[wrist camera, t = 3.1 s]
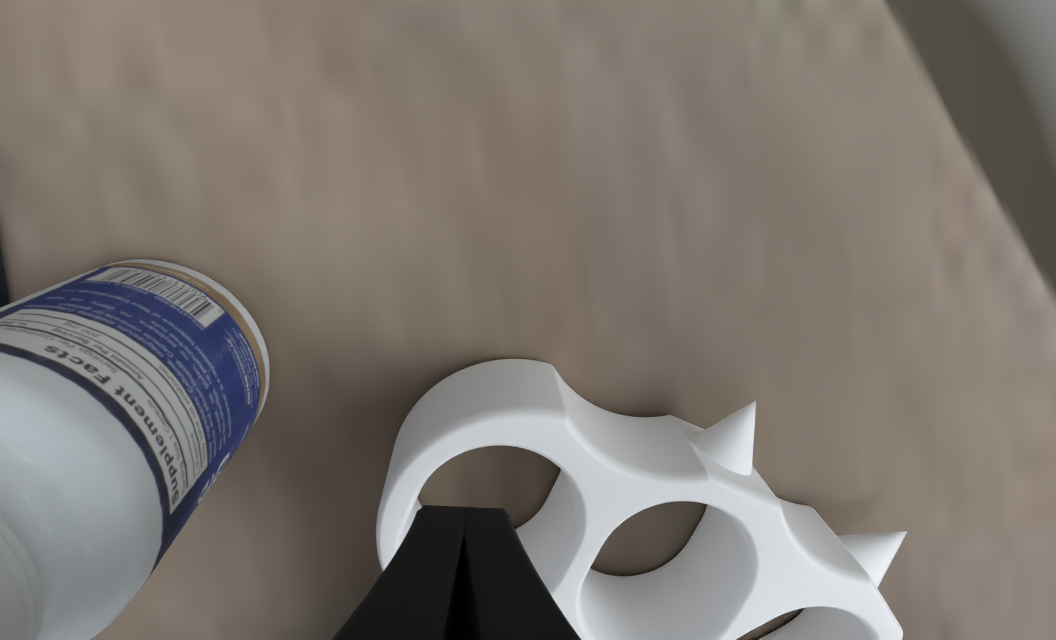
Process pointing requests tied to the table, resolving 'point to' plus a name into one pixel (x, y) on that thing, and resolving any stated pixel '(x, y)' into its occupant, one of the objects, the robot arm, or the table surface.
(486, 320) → the table surface
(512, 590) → the robot arm
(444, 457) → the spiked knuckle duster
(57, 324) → the pill bottle
